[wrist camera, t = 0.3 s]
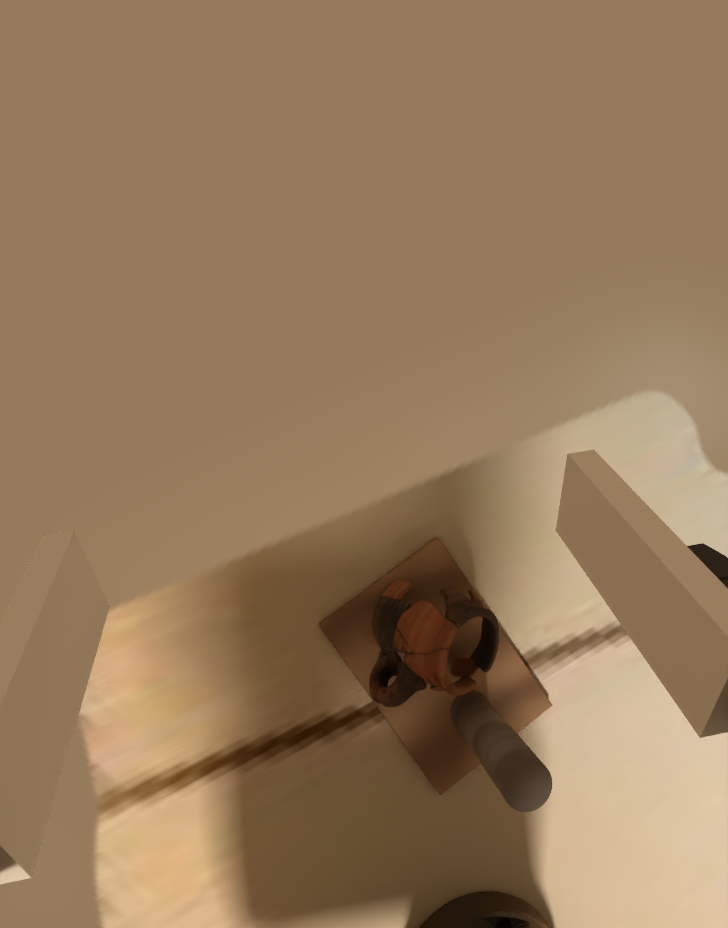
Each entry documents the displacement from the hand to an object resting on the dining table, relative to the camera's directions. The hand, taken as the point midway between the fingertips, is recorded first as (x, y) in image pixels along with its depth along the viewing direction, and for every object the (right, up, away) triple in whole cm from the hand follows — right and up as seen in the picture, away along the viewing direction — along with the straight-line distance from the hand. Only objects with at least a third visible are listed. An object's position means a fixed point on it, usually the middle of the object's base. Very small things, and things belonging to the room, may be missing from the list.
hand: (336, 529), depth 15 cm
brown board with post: (+7, -16, +36) cm, 40 cm away
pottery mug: (+5, -13, +35) cm, 38 cm away
